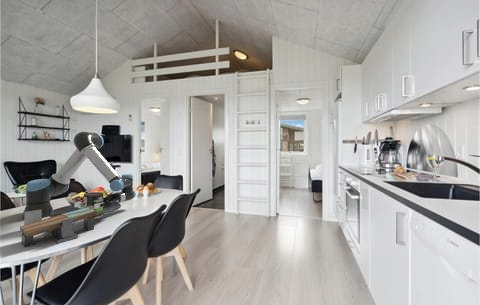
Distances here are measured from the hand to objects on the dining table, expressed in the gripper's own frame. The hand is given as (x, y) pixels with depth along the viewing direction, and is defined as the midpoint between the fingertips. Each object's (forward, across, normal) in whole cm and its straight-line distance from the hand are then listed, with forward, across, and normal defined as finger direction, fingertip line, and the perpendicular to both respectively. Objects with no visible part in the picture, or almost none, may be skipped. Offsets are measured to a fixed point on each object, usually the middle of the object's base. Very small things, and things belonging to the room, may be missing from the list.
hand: (87, 206), depth 130 cm
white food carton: (+14, +21, -11) cm, 27 cm away
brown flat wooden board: (+18, -4, -4) cm, 19 cm away
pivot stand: (+18, -4, -11) cm, 21 cm away
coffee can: (-4, 0, -8) cm, 9 cm away
